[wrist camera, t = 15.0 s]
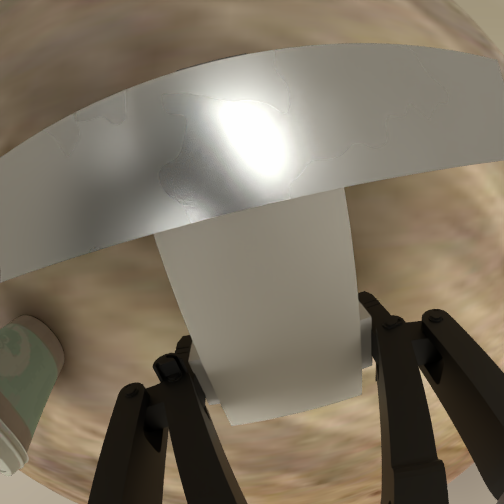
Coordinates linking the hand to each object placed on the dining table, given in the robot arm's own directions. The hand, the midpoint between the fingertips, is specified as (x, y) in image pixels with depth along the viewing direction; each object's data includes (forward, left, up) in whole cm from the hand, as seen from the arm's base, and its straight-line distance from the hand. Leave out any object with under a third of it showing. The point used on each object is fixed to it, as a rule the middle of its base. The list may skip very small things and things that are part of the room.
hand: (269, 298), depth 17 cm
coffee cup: (+1, -20, -1) cm, 20 cm away
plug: (-5, 0, -1) cm, 5 cm away
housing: (-9, 0, -1) cm, 9 cm away
